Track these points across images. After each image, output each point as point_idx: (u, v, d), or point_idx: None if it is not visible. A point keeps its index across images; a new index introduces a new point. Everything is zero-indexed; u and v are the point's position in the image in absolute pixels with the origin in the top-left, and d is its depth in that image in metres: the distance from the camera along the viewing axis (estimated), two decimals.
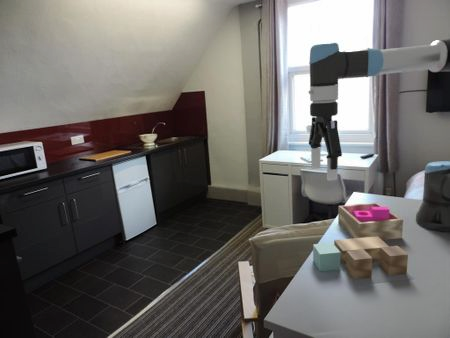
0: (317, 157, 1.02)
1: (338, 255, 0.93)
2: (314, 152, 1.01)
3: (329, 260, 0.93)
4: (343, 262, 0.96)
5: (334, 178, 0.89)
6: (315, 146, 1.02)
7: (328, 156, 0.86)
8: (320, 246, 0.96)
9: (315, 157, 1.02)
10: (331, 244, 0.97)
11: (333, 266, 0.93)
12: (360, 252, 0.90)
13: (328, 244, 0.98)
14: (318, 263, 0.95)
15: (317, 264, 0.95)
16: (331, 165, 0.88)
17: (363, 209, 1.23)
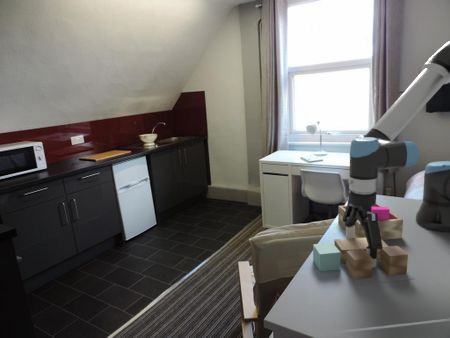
0: (351, 235, 1.05)
1: (338, 255, 0.93)
2: (349, 230, 1.05)
3: (329, 260, 0.93)
4: (342, 261, 0.97)
5: (373, 266, 0.93)
6: (350, 224, 1.05)
7: (368, 247, 0.90)
8: (320, 246, 0.96)
9: (350, 235, 1.05)
10: (331, 244, 0.97)
11: (333, 266, 0.93)
12: (360, 252, 0.90)
13: (328, 244, 0.98)
14: (318, 263, 0.95)
15: (317, 264, 0.95)
16: (371, 255, 0.91)
17: None
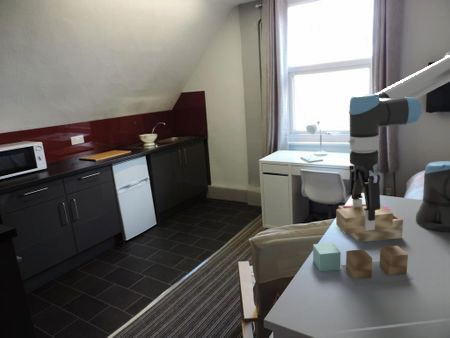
0: None
1: (338, 255, 0.93)
2: (356, 203, 0.99)
3: (329, 260, 0.93)
4: (346, 230, 0.94)
5: (371, 228, 0.93)
6: (356, 197, 1.00)
7: (366, 209, 0.91)
8: (320, 246, 0.96)
9: None
10: (331, 244, 0.97)
11: (333, 266, 0.93)
12: (360, 252, 0.90)
13: (328, 244, 0.98)
14: (318, 263, 0.95)
15: (317, 264, 0.95)
16: (369, 216, 0.92)
17: None
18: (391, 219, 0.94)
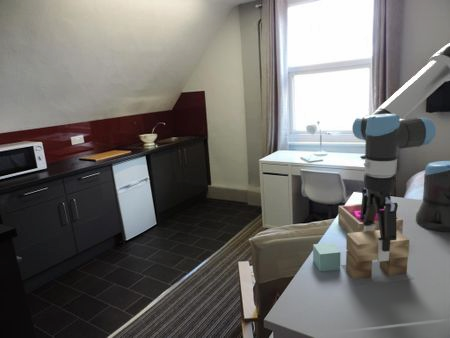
0: None
1: (338, 255, 0.93)
2: (368, 230, 0.92)
3: (329, 260, 0.93)
4: (358, 257, 0.86)
5: (385, 259, 0.86)
6: (369, 223, 0.92)
7: (381, 239, 0.83)
8: (320, 246, 0.96)
9: None
10: (331, 244, 0.97)
11: (333, 266, 0.93)
12: None
13: (328, 244, 0.98)
14: (318, 263, 0.95)
15: (317, 264, 0.95)
16: (383, 247, 0.84)
17: None
18: (408, 246, 0.86)
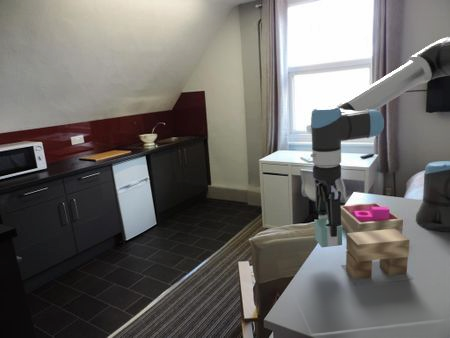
0: None
1: (340, 229, 0.91)
2: None
3: None
4: (358, 257, 0.86)
5: (334, 244, 0.91)
6: (323, 213, 0.96)
7: (328, 225, 0.88)
8: (321, 221, 0.95)
9: None
10: None
11: None
12: None
13: None
14: (319, 237, 0.93)
15: (318, 239, 0.93)
16: (331, 232, 0.89)
17: (363, 209, 1.23)
18: (408, 246, 0.86)
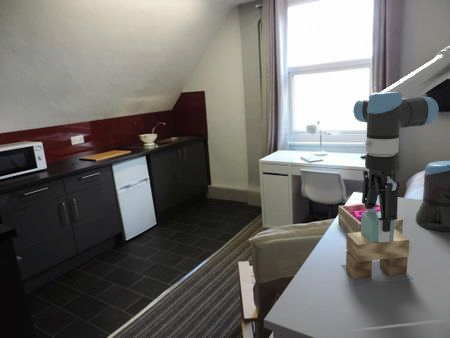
0: None
1: (392, 223, 0.84)
2: None
3: None
4: (358, 258, 0.86)
5: (385, 240, 0.85)
6: (371, 206, 0.90)
7: (381, 219, 0.82)
8: (370, 214, 0.88)
9: None
10: None
11: None
12: None
13: (378, 212, 0.89)
14: (368, 232, 0.87)
15: (367, 233, 0.87)
16: (383, 227, 0.83)
17: (363, 209, 1.23)
18: (408, 246, 0.86)
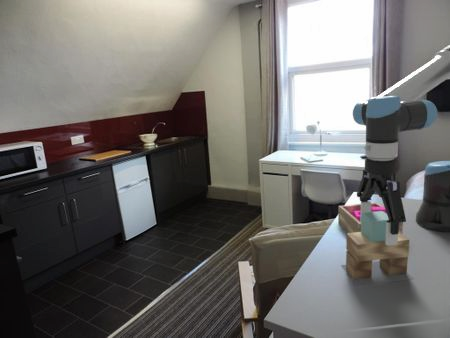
0: (367, 211, 0.94)
1: None
2: (364, 206, 0.93)
3: (382, 228, 0.85)
4: (358, 257, 0.86)
5: (394, 243, 0.81)
6: (365, 199, 0.94)
7: (389, 221, 0.78)
8: (370, 214, 0.88)
9: (365, 211, 0.94)
10: (381, 212, 0.89)
11: None
12: None
13: (378, 212, 0.89)
14: (368, 232, 0.87)
15: (367, 233, 0.87)
16: (392, 230, 0.80)
17: None
18: (408, 246, 0.86)
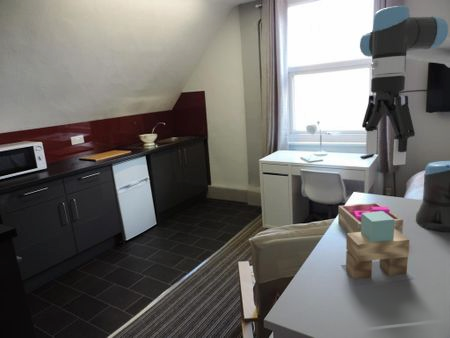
0: (373, 141, 0.91)
1: (392, 222, 0.85)
2: (370, 135, 0.90)
3: (382, 228, 0.85)
4: (358, 257, 0.86)
5: (402, 162, 0.78)
6: (371, 129, 0.91)
7: (397, 136, 0.75)
8: (370, 214, 0.88)
9: (371, 141, 0.91)
10: (381, 212, 0.89)
11: (386, 235, 0.85)
12: None
13: (378, 212, 0.89)
14: (368, 232, 0.87)
15: (367, 233, 0.87)
16: (399, 147, 0.77)
17: (363, 209, 1.23)
18: (408, 246, 0.86)
